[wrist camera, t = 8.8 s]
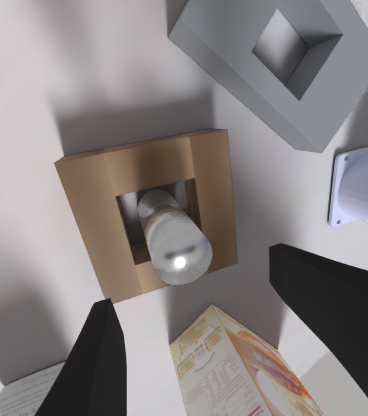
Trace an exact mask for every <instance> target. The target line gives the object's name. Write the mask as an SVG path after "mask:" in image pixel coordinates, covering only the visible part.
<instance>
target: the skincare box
mask: <svg viewBox="0 0 368 416" xmlns="http://www.w3.org/2000/svg"><path fill="white" fill-rule="evenodd" d="M64 364H65V362H63V363H60V364H58V365H55V366H52V367H49V368H47V369H44V370H42V371H39V372H36V373H34V374H32V375H29V376H27V377H24V378H22V379H20V380H17V381H15V382H12V383H10V384H8V385H7V386H5V387H4V388H3V389H2V391H1V393H0V416H34V415H35V413H36V412H37V410H38V409H39V407H40V405H41V404H42V402H43V400H44V399H45V397H46V395H47V394H48V392H49V390H50V389H51V387H52V385H53V383H54V382H55V380H56V378H57V376H58V374H59V373H60V371H61V369H62V367H63V365H64Z"/></svg>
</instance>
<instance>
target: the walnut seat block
mask: <svg viewBox="0 0 368 416" xmlns="http://www.w3.org/2000/svg"><path fill="white" fill-rule="evenodd" d="M54 164H55V167H56V169H57V172H58V175H59V177H60V180H61V183H62V185H63V188H64V191H65V193H66V196H67V199H68V201H69V204H70V207H71V209H72V212H73V215H74V217H75V220H76V223H77V225H78V228H79V231H80V233H81V236H82V239H83V241H84V244H85V247H86V249H87V252H88V255H89V257H90V260H91V263H92V265H93V268H94V271H95V273H96V276H97V279H98V281H99V284H100V287H101V289H102V292H103V295H104V297H105V299H108V298H111V301H112V304H114V303H117V302H120V301H123V300H126V299H130V298H133V297H136V296H139V295H142V294H145V293H148V292H151V291H154V290H157V289H160V288H163V287H166V286H169V285H172V284H169V283H166V282H164V281H163V280H161V279H160V278H159V277H158V276H157V274H156V272H155V270H154V266H153V263H152V260H151V256H150V253H149V249H148V246H147V242H144V243H141V244H137V245H133V246H132V244H131V241H130V237H129V234H128V230H127V227H126V223H125V220H124V216H123V213H122V209H121V205H120V202H119V198H118V195H123V194H127V193H131V192H136V191H140V190H144V189H149V188H153V187H157V186H162V185H166V184H170V183H174V182H179V181H183V180H185V186H186V192H187V199H188V205H189V211H190V218H191V220H192V221H193V222H194V224H195V225H196V226H197V227H198V228H199V230H200V231H201V232H202V233H203V235H204V236H205V237H206V238H207V239H208V241H209V242H210V244H211V247H212V260H211V263H210V265H209V267H208V269H207V270H206V271H205V273H204V274H206V273H209V272H212V271H215V270H218V269H221V268H224V267H227V266H230V265H233V264H237V263H238V260H237V246H236V233H235V219H234V206H233V193H232V179H231V166H230V153H229V139H228V130H225V129H206V130H201V131H195V132H190V133H185V134H179V135H174V136H169V137H163V138H158V139H153V140H148V141H142V142H137V143H132V144H126V145H121V146H116V147H110V148H105V149H100V150H94V151H89V152H84V153H78V154H73V155H68V156H64V157H62V158H61V159H59V160H58V161H56V162H55V163H54Z"/></svg>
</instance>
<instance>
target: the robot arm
mask: <svg viewBox="0 0 368 416" xmlns="http://www.w3.org/2000/svg"><path fill="white" fill-rule="evenodd" d="M344 158H345V159H344ZM355 220H359V221H362V222H364V223H367V224H368V147H366V148H361V149H357V150H353V151H349V152H345V153H341V154H338V155H337V156H336V158H335V165H334V175H333V185H332V194H331V204H330V214H329V226H331V227H336V226H339V225H342V224H345V223H349V222H352V221H355ZM269 267H270V283H271V285H272V286H273V287H274V289H275V290H276V292H277V293H278V294H279V296H280V297H281V298H282V300H283V301H284V302H285V303H286V304H287V305H288V306H289V307H290V308H291V309H292V311H293V312H294V313H295V314H296V315H297V316H298V317H299V318H300V319H301V320H302V321H303V322H304V323H305V324H306V325H307V326H308V327H309V328H310V329H311V330H312V332H313V333H314V334H315V335H316V336H317V337H318V338H319V339H320V340H321V341H322V342H323V343H324V344H325V345H326V346H327V347H328V349H329V350H330V351H331V352H332V353H333V354H334V355H335V357H337V359H338V360H339V362H340V363H341V364H342V365H343V367H344V368H345V369H346V370H347V371H348V373H349V374H350V375H351V376H352V378H353V379H354V380H355V381H356V383H357V384H358V385H359V387H360V388H361V389H362V391H363V392H364V393H365V394H366V396H367V397H368V271H367V270H364V269H360V268H357V267H353V266H350V265H347V264H343V263H340V262H337V261H334V260H331V259H328V258H325V257H322V256H319V255H316V254H313V253H310V252H307V251H304V250H301V249H298V248H295V247H292V246H289V245H286V244H282V243H280V244H277V245H274V246H270V247H269ZM34 416H127V364H126V351H125V342H124V334H123V331H122V328H121V326H120V323H119V320H118V317H117V315H116V312H115V309H114V306H113V304H112V301H111V298H108V299H105V300H102V301H98V302H95V303H94V304H93V306H92V308H91V310H90V313H89V315H88V317H87V319H86V322H85V324H84V326H83V328H82V330H81V332H80V334H79V336H78V338H77V340H76V342H75V344H74V346H73V348H72V350H71V352H70V354H69V356H68V358H67V360H66V362H65V364H64V365H63V367H62V369H61V371H60V373H59V374H58V376H57V378H56V380H55V382H54V383H53V385H52V387H51V389H50V390H49V392H48V394H47V395H46V397H45V399H44V400H43V402H42V404H41V405H40V407H39V409H38V410H37V412H36V413H35V415H34Z"/></svg>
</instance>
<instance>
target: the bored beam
mask: <svg viewBox="0 0 368 416" xmlns="http://www.w3.org/2000/svg"><path fill="white" fill-rule="evenodd" d="M277 8H278V9H279V11H280V12H281V13H282V14H283V16H284V17H285V18H286V19H287V20H288V22H289V23H290V24H291V25H292V27H293V28H294V29H295V30H296V32H297V33H298V34H299V35H300V36H301V38H302V39H303V40H304V41H305V43H306V44H307V45H308V46H309V49H308V50H307V52H306V53H305V55H304V57H303V58H302V60H301V61H300V63H299V64H298V66H297V67H296V69H295V71H294V72H293V74H292V75H291V77H290V78H289V80H288V82H287V83H286V85H285V86H284V85H283V84H282V83H281V82H280V81H279V80H278V79H277V78H276V77H275V76H274V75H273V73H272V72H271V71H270V70H269V69H268V68H267V67H266V66H265V65H264V64H263V63H262V62H261V61H260V60H259V59H258V58H257V57H256V56H255V55H254V54H253V53H252V52H251V51H252V49H253V48H254V46H255V44H256V43H257V41H258V39H259V38H260V36H261V34H262V33H263V31H264V29H265V28H266V26H267V24H268V23H269V21H270V19H271V18H272V16H273V14H274V13H275V11H276V9H277ZM168 38H169V39H170V40H171V41H172V42H173V43H174V44H176V45H177V46H178V47H179V48H180V49H181V50H182V51H184V52H185V53H186V54H187V55H188V56H189V57H190V58H192V59H193V60H194V61H195V62H196V63H197V64H198V65H200V66H201V67H202V68H203V69H204V70H205V71H206V72H208V73H209V74H210V75H211V76H212V77H213V78H214V79H216V80H217V81H218V82H219V83H220V84H221V85H222V86H223V87H225V88H226V89H227V90H228V91H229V92H230V93H231V94H233V95H234V96H235V97H236V98H237V99H238V100H239V101H241V102H242V103H243V104H244V105H245V106H246V107H247V108H249V109H250V110H251V111H252V112H253V113H254V114H255V115H257V116H258V117H259V118H260V119H261V120H262V121H263V122H265V123H266V124H267V125H268V126H269V127H270V128H271V129H272V130H274V131H275V132H276V133H277V134H278V135H279V136H280V137H282V138H283V139H284V140H285V141H286V142H287V143H288V144H290V145H291V146H292V147H293V148H294V149H296V150H303V151H310V152H317V153H323V151H324V150H325V148H326V147H327V146H328V144H329V143H330V141H331V140H332V138H333V137H334V135H335V134H336V133H337V131H338V130H339V128H340V127H341V125H342V124H343V123H344V121H345V120H346V118H347V117H348V115H349V114H350V113H351V111H352V110H353V108H354V107H355V105H356V104H357V103H358V101H359V100H360V98H361V97H362V95H363V94H364V92H365V91H366V90H367V88H368V28H367V27H366V25H365V23H364V22H363V20H362V19H361V17H360V16H359V14H358V12H357V11H356V9H355V8H354V6H353V5H352V3H351V1H350V0H188V1H187V2H186V4H185V6H184V8H183V10H182V12H181V14H180V16H179V17H178V19H177V21H176V23H175V25H174V27H173V29H172V30H171V32H170V34H169V36H168Z"/></svg>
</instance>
